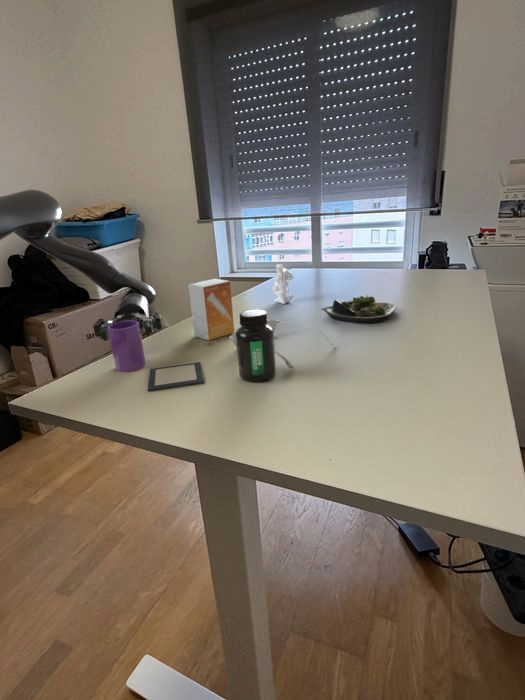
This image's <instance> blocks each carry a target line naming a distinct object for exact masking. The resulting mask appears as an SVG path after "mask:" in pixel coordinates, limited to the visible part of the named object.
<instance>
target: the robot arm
mask: <svg viewBox="0 0 525 700" xmlns="http://www.w3.org/2000/svg"><path fill="white" fill-rule="evenodd" d="M62 215H63V211H62V208H61V205H60V203H59V201H57V199H56V198H55V197H54V196H52V195H51V194H49V193H48V192H45V191H42V190H40V189H26V190H25V189H24V190H21V191H18V192H14V193H9V194H6V195H2V196H0V241H1V240H3V239H5V238H7V237H8V236H10V235H11V234H15V235H16V236H17V237H18V238H20V239H22V240H23V241H24V242H26V243H28V244H30V245H32V246H34V248H36V249H39V251H40V250H41V251H42V252H44V253H46V254H47V255H49V256H51V257H52V258H54V259H56V260H58V261H59V262H62V263H64V264H65V265H67V266H69V267H70V268H72V269H74V270H75V271H77V272H79V273H80V274H82V275H83V276H84V277H86V278H87V279H88V280H90V281H91V282H92V283H94V284H95V285H96V286H98V287H99V288H100V289H102V290H103V291H104V292H106V293H107V294H115V293H117V292H118V291H120V290H121V289H123V288H124V289H125V288H128V289H127V291H126V292H125V293H124V294H123V295H121V297H119V299H118V300H117V307H116V309H115V312H114V315H113V318H110V319H108V321H106V320H105V319H104V318H98V319H97V320H96V321H95V322H94V324H93V325H92V328H93V333H94V336H95V338H100V340H103V341H104V342H108V341H109V340H110V338H109V334H108V329H107V327H108V326H109V325H110V324H113V323H116V322H120V321H130V320H133V321H138V322H139V326H140V332H145V336H151V334H153V333H154V331H155V329H156V330H162V329H163V324H162V317H161V313H160V312H159V311H156V312H154V313H153V314H152V316H150V312H149V307H150V306H151V304H153V303H154V301H155V300H156V298H157V297H156V296H157V295H156V291H155V290H154V288H153V287H152V286H151V285H150V284H148V283H146V282H144V281H142V280H140V279H137V278H135V277H133V276H131V275H129V274H128V273H126V272H124V271H123V270H121V268H119V267H117V266H116V265H115V264H114V263H113V262H111V260H109V259H108V258H107V257H105V256H104V255H102V254H100V253H98V252H96V251H92V250H89V249H85V248H82V247H79V246H75V245H72V244H69V243H67V242H64V241H62V240H61V239H59V238H57V237H56V236H55V235H53V233H51V232H52V231H53V229H55V227H56V226H58V224H59V223H60V221H61V220H62Z"/></svg>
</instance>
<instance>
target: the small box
mask: <svg viewBox="0 0 525 700" xmlns="http://www.w3.org/2000/svg"><path fill="white" fill-rule="evenodd" d="M187 286H188V294H189V301H190V310H191V316H192V317H191V318H192V325H193V326H192V327H193V333H194V337H197V338H200V339H203V340H207V341H212V340H215V339H218V338H221V337H223V336H227V335H230V334H233V333H235V324H234V311H233V301H232V300H233V299H232V287H231V280H226V279H220V278H211V279H208V280H201V281H198V282H195V283H194V282H193V283H190V284H189V283H188V284H187Z"/></svg>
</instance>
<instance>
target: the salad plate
mask: <svg viewBox="0 0 525 700" xmlns="http://www.w3.org/2000/svg"><path fill="white" fill-rule="evenodd" d="M332 302H333V303H332V305H329V306H328V305H327V306H324V307H321V308H320V311H323V312H324V313H326V314H327V315H328V316H329V317H330V319H332V320H334V321H338V322H344V323H352V324H366V325H367V324H378V323H381V322H383V321H385V320H387V319H388V318H390V316H391V315H392V314H394V312H395V311H396V309H397V306H396V304H394V303H390V302H377V301H376V299H375V297H374V296H372V295H371V296H369V295H365V296H363V295H360V296H357V297H352V299H351V300H342V301H339V300H337V299H334V300H333V301H332Z"/></svg>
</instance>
